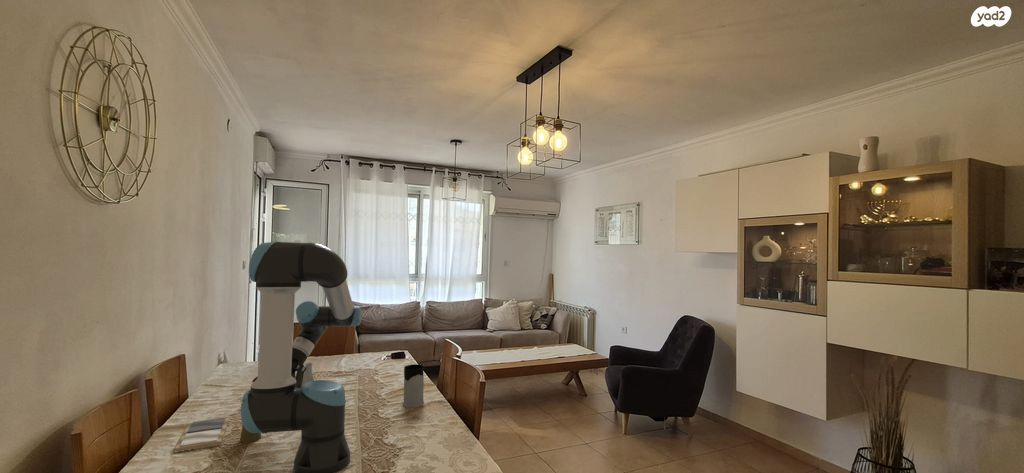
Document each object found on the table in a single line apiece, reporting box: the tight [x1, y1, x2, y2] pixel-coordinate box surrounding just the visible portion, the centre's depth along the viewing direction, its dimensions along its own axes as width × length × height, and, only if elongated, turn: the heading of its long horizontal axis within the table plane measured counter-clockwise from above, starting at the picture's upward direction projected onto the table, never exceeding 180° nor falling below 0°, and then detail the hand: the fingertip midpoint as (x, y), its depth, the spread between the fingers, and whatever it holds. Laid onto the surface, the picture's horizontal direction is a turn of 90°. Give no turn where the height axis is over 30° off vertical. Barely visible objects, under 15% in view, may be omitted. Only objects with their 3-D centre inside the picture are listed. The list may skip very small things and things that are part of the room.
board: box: [173, 416, 231, 453], centre depth 147 cm, size 22×12×2 cm, turn 27°
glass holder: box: [402, 364, 425, 409], centre depth 181 cm, size 9×14×15 cm, turn 36°
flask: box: [301, 362, 317, 388], centre depth 201 cm, size 7×7×10 cm
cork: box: [239, 425, 262, 444], centre depth 144 cm, size 6×6×11 cm
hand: (261, 406), depth 148 cm, fingers open, 13 cm apart
